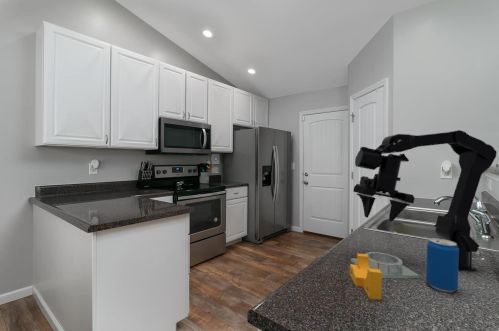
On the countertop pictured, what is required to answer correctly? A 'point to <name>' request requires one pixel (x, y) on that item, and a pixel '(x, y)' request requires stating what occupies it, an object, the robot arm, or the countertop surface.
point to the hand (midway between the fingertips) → (378, 219)
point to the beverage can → (442, 265)
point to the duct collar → (388, 265)
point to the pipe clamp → (367, 277)
